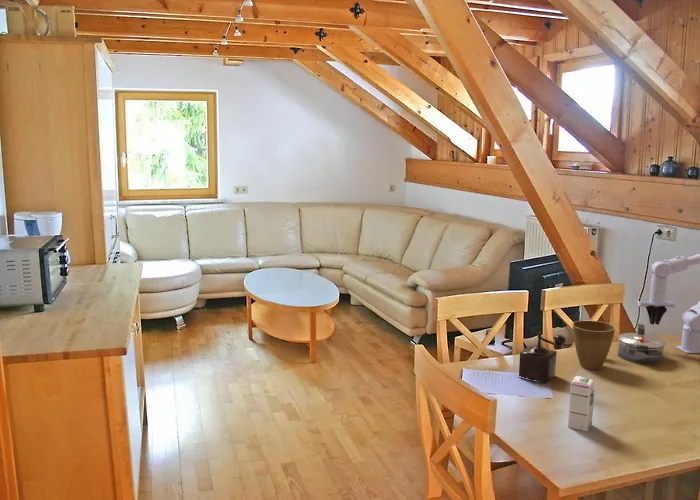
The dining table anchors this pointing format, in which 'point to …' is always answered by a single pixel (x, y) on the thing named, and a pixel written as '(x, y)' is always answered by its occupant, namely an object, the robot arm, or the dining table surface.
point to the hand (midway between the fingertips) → (654, 323)
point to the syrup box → (581, 403)
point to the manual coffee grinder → (540, 360)
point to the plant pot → (592, 342)
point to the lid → (641, 339)
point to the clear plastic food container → (640, 354)
